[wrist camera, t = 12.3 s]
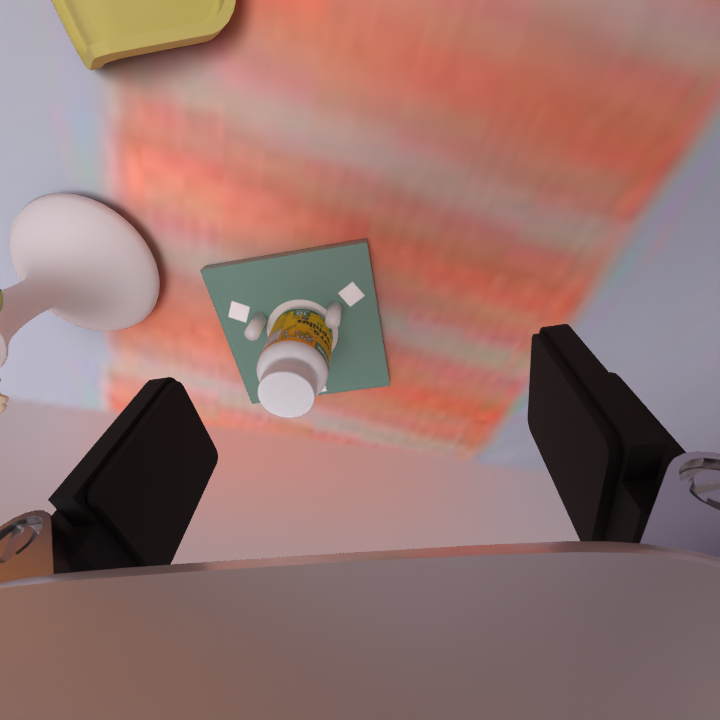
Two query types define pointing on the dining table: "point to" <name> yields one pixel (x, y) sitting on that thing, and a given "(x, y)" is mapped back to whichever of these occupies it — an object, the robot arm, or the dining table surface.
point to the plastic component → (139, 26)
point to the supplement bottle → (294, 362)
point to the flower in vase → (76, 268)
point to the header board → (304, 289)
